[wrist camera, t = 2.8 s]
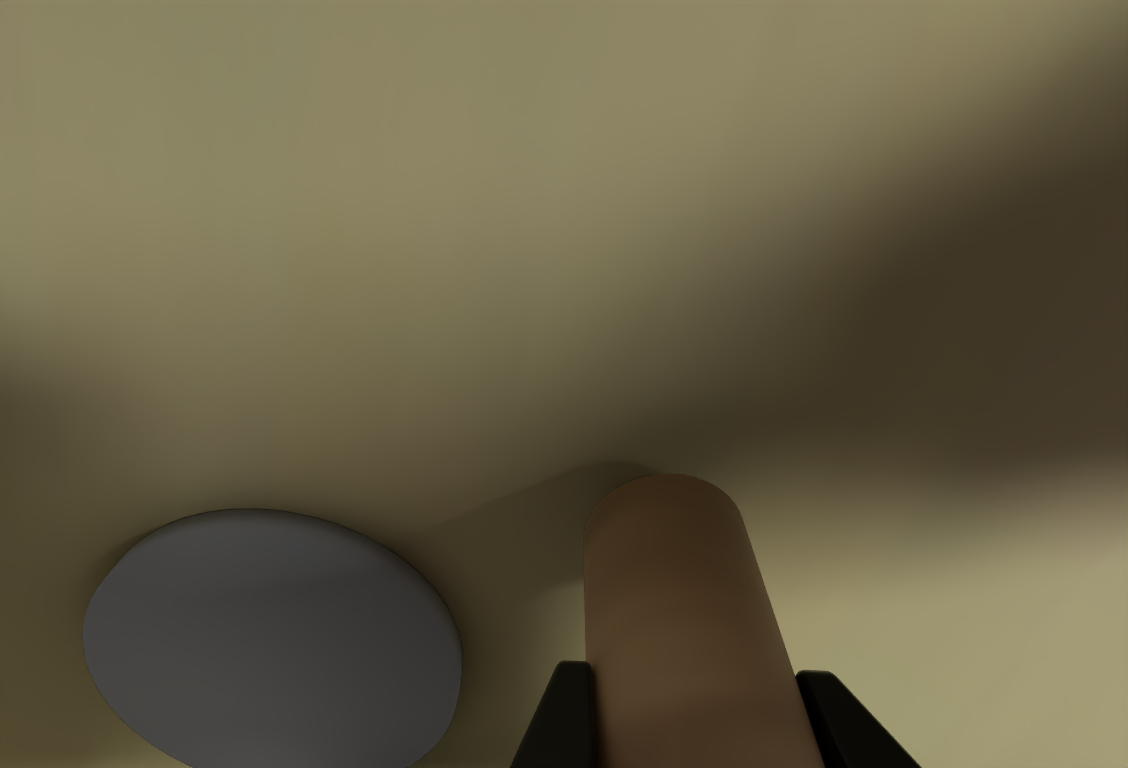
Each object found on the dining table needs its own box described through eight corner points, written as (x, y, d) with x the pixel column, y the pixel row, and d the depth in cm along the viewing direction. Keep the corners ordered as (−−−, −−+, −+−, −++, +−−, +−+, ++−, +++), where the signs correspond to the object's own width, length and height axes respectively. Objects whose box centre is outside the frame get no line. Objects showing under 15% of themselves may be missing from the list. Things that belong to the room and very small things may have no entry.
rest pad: (459, 517, 13) (454, 539, 12) (465, 771, 16) (462, 797, 15) (56, 500, 13) (34, 522, 12) (145, 759, 16) (131, 785, 15)
